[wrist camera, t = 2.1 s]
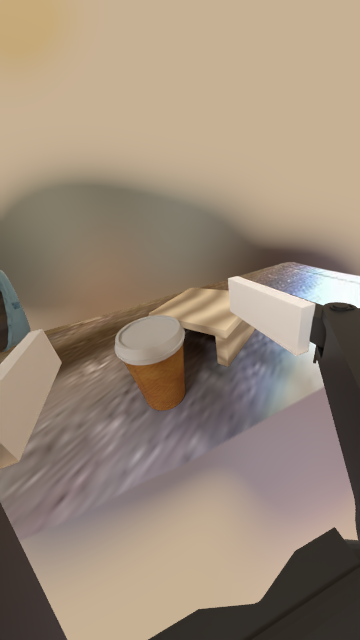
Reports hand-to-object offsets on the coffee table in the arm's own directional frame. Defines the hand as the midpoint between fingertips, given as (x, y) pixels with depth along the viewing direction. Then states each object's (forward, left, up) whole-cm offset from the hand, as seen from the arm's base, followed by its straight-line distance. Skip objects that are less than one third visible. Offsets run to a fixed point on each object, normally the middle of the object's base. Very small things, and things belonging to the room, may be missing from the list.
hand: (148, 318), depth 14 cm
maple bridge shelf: (-11, +24, -18) cm, 32 cm away
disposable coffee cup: (-8, +6, -18) cm, 21 cm away
